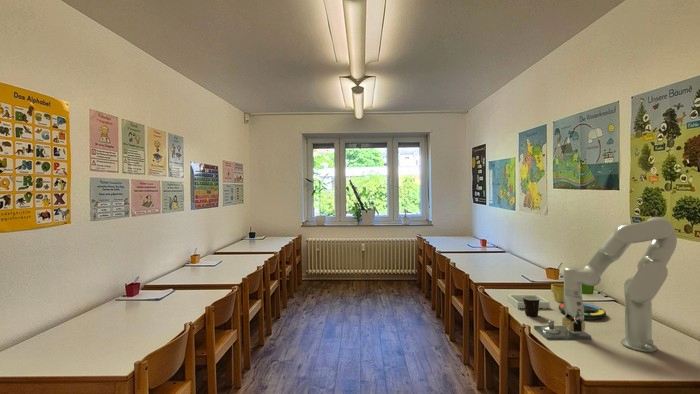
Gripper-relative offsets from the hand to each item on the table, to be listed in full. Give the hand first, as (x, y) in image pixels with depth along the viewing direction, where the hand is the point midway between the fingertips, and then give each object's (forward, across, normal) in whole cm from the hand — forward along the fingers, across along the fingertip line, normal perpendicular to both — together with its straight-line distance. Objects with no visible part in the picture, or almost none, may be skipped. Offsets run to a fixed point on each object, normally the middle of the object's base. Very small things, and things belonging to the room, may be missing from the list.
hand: (573, 328), depth 176 cm
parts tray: (+3, +47, +2) cm, 47 cm away
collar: (0, 0, 0) cm, 0 cm away
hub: (+3, +2, +10) cm, 10 cm away
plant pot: (+4, +54, -22) cm, 59 cm away
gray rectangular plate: (+3, +2, +5) cm, 6 cm away
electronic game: (+4, +30, -22) cm, 37 cm away
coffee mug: (+4, +27, +8) cm, 29 cm away
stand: (+3, 0, 0) cm, 3 cm away
